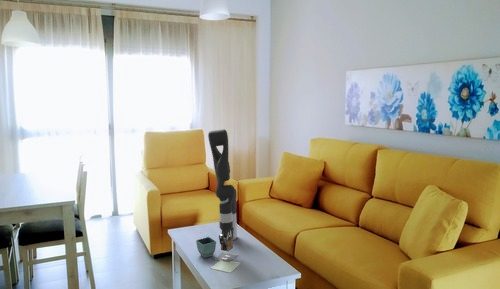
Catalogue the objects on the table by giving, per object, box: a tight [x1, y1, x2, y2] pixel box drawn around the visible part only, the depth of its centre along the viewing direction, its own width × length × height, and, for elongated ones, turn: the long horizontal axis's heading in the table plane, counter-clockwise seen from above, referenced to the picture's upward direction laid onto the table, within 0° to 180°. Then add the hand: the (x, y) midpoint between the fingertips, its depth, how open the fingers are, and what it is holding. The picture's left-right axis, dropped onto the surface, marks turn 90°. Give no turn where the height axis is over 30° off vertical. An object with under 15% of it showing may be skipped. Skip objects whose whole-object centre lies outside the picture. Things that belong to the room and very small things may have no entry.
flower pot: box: [195, 236, 217, 259], centre depth 218 cm, size 9×9×9 cm
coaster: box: [210, 259, 242, 274], centre depth 205 cm, size 12×12×1 cm
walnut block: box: [220, 237, 234, 253], centre depth 215 cm, size 5×5×6 cm
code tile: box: [213, 252, 238, 262], centre depth 216 cm, size 10×10×1 cm
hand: (226, 248), depth 215 cm, fingers closed on walnut block, 5 cm apart
